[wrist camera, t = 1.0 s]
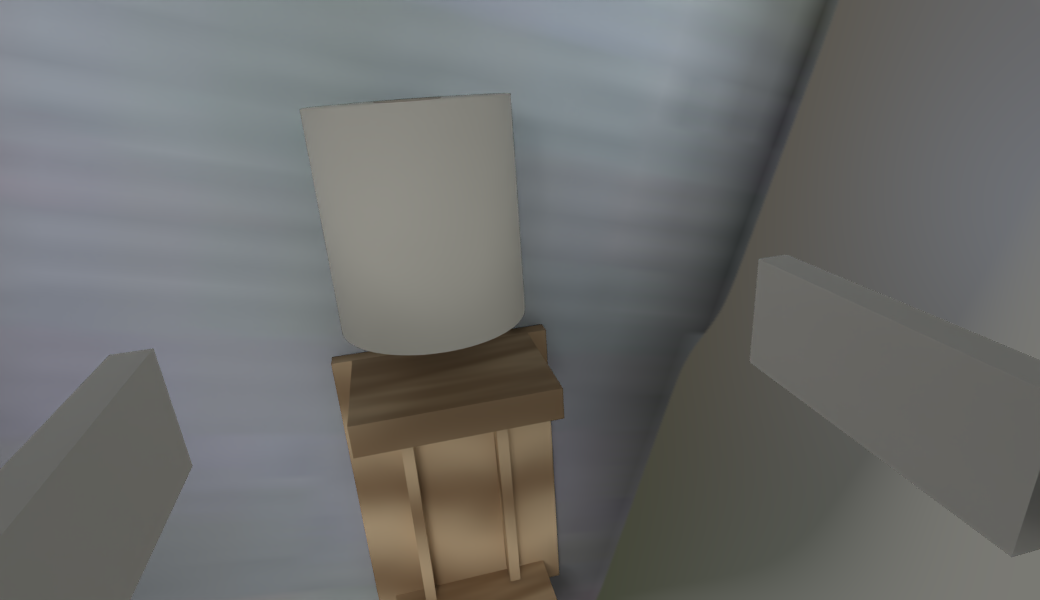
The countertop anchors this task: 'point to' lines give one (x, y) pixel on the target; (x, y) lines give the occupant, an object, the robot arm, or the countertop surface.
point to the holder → (456, 467)
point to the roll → (419, 219)
